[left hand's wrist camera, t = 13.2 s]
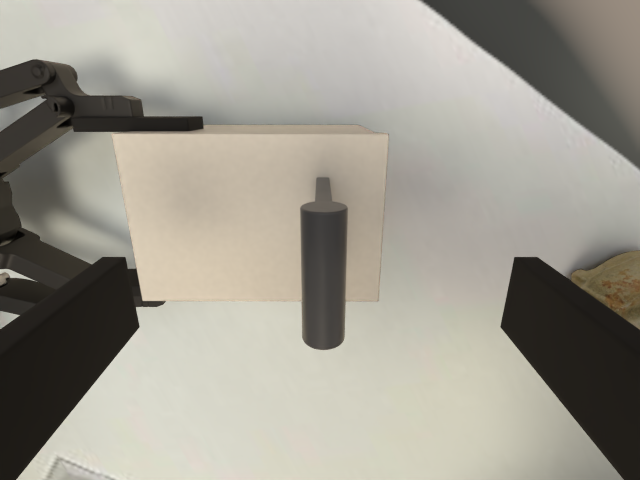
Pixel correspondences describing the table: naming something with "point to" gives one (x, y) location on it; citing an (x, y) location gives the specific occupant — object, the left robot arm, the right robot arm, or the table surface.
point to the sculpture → (615, 285)
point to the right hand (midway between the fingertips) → (205, 208)
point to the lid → (258, 219)
